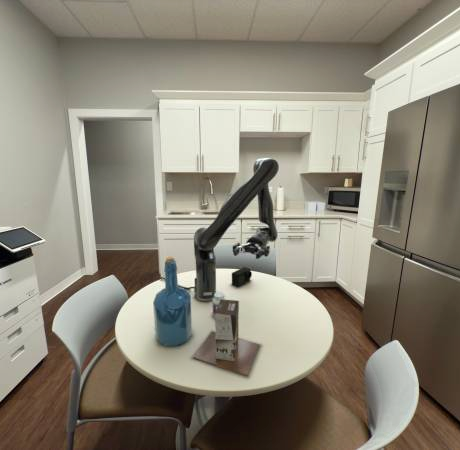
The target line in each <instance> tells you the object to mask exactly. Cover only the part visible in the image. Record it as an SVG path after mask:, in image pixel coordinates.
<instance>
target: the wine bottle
mask: <svg viewBox="0 0 460 450" xmlns="http://www.w3.org/2000/svg"><path fill="white" fill-rule="evenodd" d="M163 272H164V278H165V280H164V286H165V287H164V288H162V289H161V290H159V291H158V292H157V293H156V294H155V296H154V299H153V303H152V307H153V308H152V309H153V320H154V335H155V338H156V340H157V341H158V342H159V344H160V345H164V346H167V347H171V346H173V347H174V346H179V345H181V344H184V343H186V342H187V341H189V339H190V338H191V336H192V333H193V325H192V324H193V321H192V297H191V294H190V292H188V291H187V289H184V288H181V287H178V285H179V283H178V267H177V261H176V260H175V257H174V256H168V257H166V259H165V261H164V270H163Z"/></svg>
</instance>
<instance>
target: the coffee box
mask: <svg viewBox="0 0 460 450" xmlns="http://www.w3.org/2000/svg"><path fill="white" fill-rule="evenodd" d="M239 309H240V301H239V300H236V299H235V300H233V299H225V300H222V299H221V300H220V303H219V305H218V308H217V310H216V313H215V317H214V318H215V319H214V320H215V325H214V326H215V331H214V332H215V335H216V359H222V360H228V361H235V357H236V352H237V347H238V339H240V338H239V336H240V335H239V333H240V331H239V330H240V329H239V326H240V325H239V324H240V323H239V322H240V321H239V320H240V317H239V316H240V313H239V312H240V310H239Z"/></svg>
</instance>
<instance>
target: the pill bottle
mask: <svg viewBox="0 0 460 450" xmlns="http://www.w3.org/2000/svg"><path fill="white" fill-rule="evenodd" d="M221 299H222V300H226V298H225V294H224V293H223V292H220V291H218V292H217V291H216V293H215V294H214V299H213V300H212V317H213V318H215V313H216V310H217V308H218V305H219V303H220V300H221Z"/></svg>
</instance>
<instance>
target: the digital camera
mask: <svg viewBox="0 0 460 450" xmlns="http://www.w3.org/2000/svg"><path fill="white" fill-rule="evenodd" d="M252 275H253V272H252V271H251V269H250V268H248V267H245V266H244V267H242V268H239V269H237V270H235V271H233V272H231V285H232V286H234V287H236V288H239V287H241V286H243V285H245V284H247V283H249V282H250V281H251V278H252Z"/></svg>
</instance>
